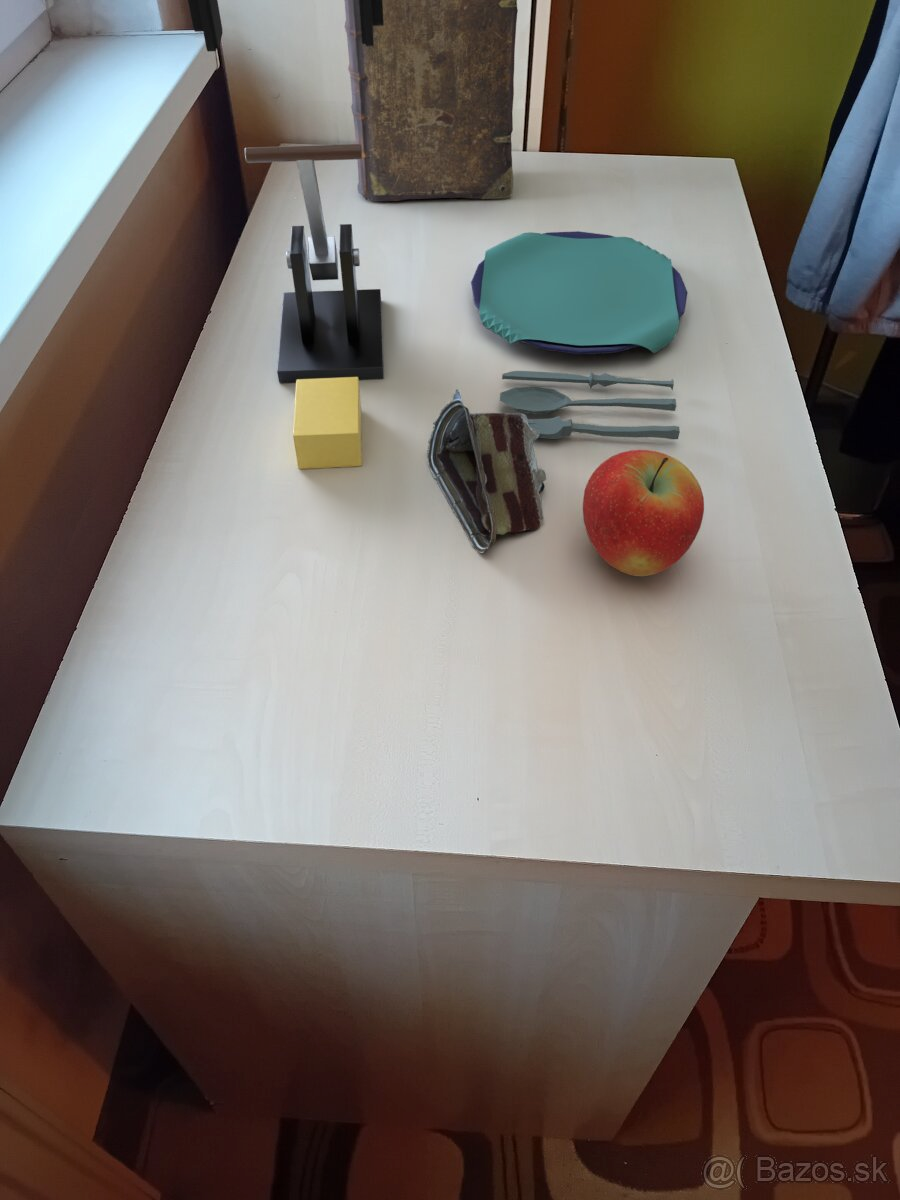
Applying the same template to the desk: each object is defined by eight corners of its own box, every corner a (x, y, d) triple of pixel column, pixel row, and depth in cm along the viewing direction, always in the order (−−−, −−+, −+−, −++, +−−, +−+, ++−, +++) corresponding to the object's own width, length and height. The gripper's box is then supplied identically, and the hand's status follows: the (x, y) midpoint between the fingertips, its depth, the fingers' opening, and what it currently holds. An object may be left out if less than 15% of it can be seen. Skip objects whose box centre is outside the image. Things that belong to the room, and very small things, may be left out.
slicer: (383, 378, 83) (377, 276, 76) (279, 383, 83) (261, 281, 75) (381, 300, 91) (374, 200, 83) (285, 303, 91) (270, 203, 83)
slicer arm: (361, 162, 66) (360, 131, 67) (244, 166, 66) (244, 135, 67) (372, 278, 82) (371, 252, 82) (278, 281, 82) (277, 255, 82)
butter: (298, 469, 76) (292, 436, 73) (301, 412, 80) (296, 378, 78) (362, 466, 76) (358, 433, 73) (361, 409, 81) (358, 376, 78)
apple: (626, 501, 74) (646, 395, 66) (711, 559, 70) (743, 454, 62) (552, 554, 70) (565, 449, 62) (638, 618, 66) (662, 514, 59)
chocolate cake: (574, 546, 71) (566, 382, 70) (491, 553, 68) (481, 380, 67) (509, 548, 80) (500, 401, 79) (432, 554, 76) (422, 401, 76)
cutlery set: (676, 253, 96) (680, 231, 94) (701, 453, 77) (707, 431, 75) (477, 244, 97) (478, 222, 95) (453, 440, 78) (453, 417, 76)
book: (355, 203, 102) (333, -73, 83) (359, 171, 107) (339, -98, 88) (512, 203, 102) (527, -74, 83) (510, 171, 107) (522, -99, 88)
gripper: (53, -318, 45) (145, 70, 58) (423, -326, 46) (431, 60, 59) (82, -343, 50) (161, 21, 63) (417, -349, 50) (425, 13, 64)
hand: (291, 40), depth 61 cm, fingers open, 9 cm apart
